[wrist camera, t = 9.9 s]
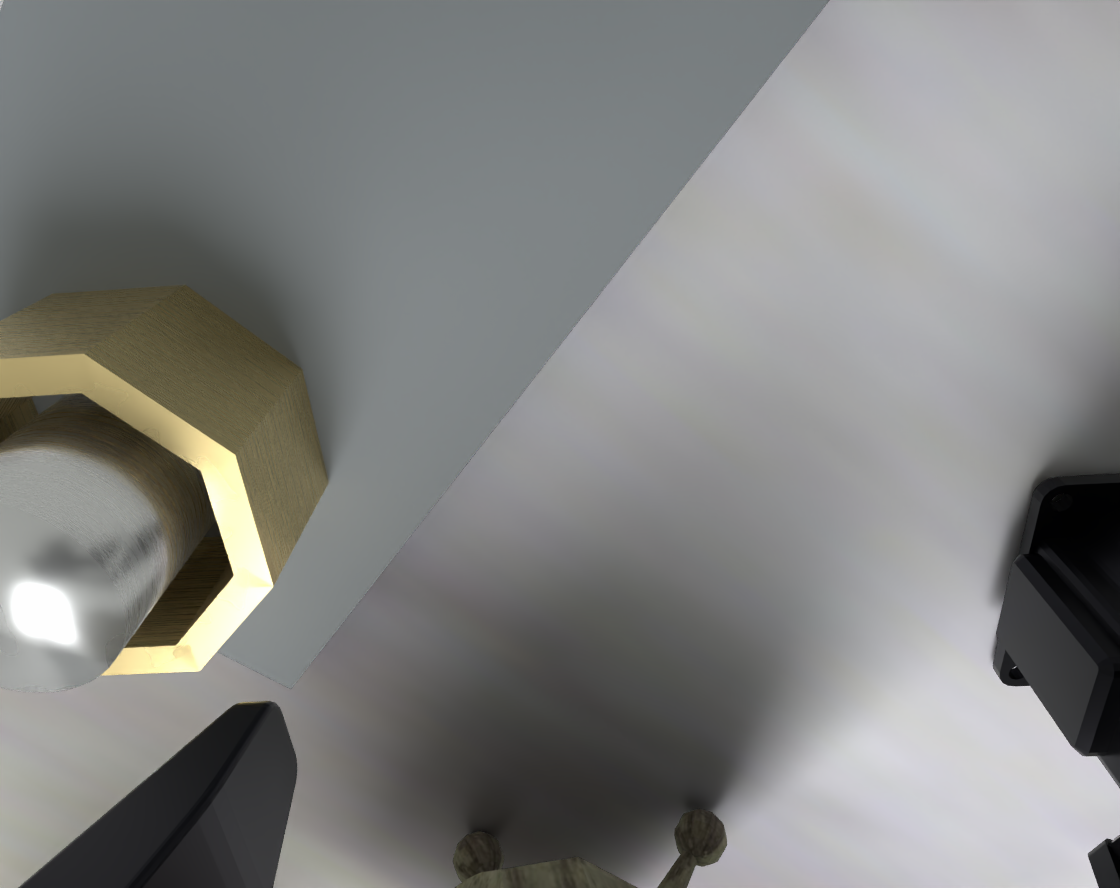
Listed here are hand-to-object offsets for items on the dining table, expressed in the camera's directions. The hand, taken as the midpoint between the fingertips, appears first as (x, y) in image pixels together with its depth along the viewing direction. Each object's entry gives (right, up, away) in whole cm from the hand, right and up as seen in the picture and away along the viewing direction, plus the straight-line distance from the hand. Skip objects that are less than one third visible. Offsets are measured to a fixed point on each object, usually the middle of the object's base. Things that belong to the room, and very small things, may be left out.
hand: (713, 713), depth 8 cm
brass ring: (-11, +3, +11) cm, 15 cm away
